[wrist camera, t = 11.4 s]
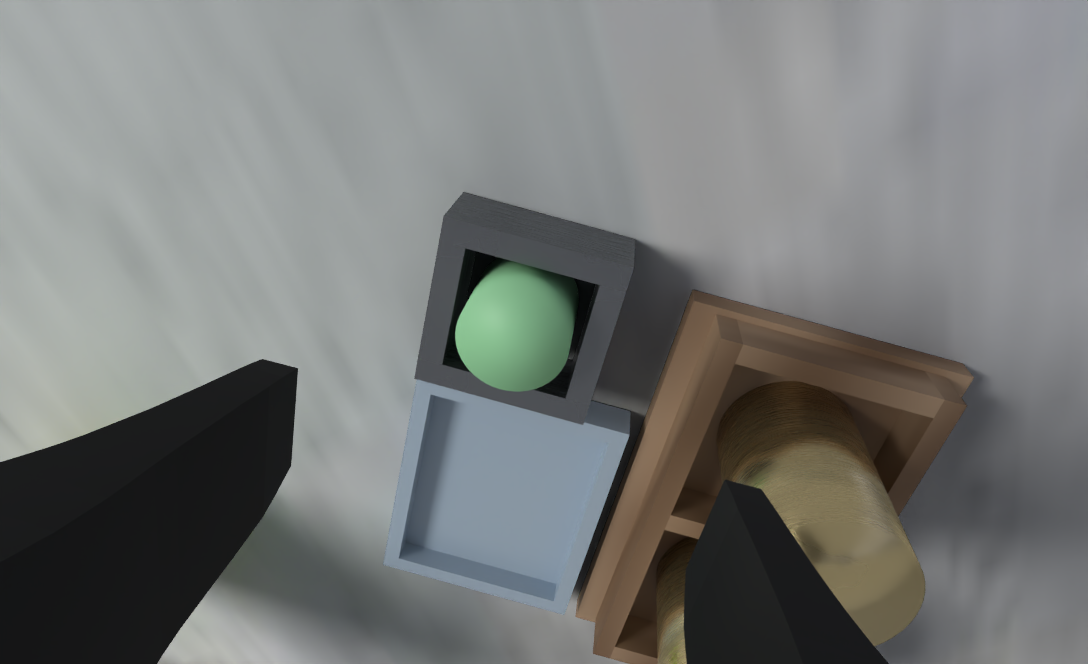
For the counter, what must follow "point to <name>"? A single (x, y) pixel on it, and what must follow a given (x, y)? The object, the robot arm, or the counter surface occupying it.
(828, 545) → the cylinder
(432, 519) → the light blue shallow tray
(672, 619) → the cylinder
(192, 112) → the counter surface
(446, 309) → the button housing
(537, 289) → the button
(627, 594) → the wooden tray
